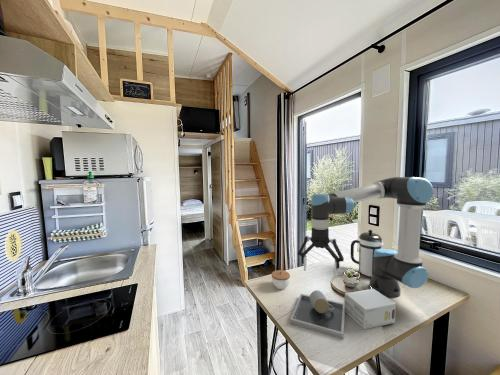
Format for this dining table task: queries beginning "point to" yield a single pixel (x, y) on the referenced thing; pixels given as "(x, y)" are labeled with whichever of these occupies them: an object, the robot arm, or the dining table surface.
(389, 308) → the supplement box
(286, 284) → the lidded jar
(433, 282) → the dining table surface
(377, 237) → the coffee press
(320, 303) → the ceramic mug
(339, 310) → the square tray
